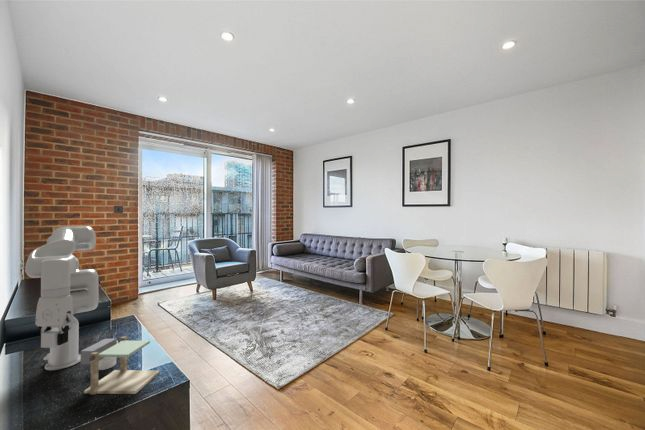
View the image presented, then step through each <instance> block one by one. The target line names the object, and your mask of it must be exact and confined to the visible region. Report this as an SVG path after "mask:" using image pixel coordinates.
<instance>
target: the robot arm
mask: <svg viewBox="0 0 645 430" xmlns="http://www.w3.org/2000/svg"><path fill="white" fill-rule="evenodd" d="M96 237H97V236H96V232H95V230H94V229H93V227H92V226H87V225H85V226H84V225H83V226H82V225H78V226H77V225H76V226H74V225H73V226H69V225H68V226H60V227H57V228H56V229H54V230H53V231H52V233H51V235H50V236H49V237H47V239H46V244H43V245H41V246H38V247H37V248H35V249H34V250H32V251H31V252H30V253H29V255H28V258H27V260H26V263H25V267H24V271H25V274H26V276H28V277H30V278H32V279H36V278H37V279H39V278H40V297H39V298H38V301H37V305H36V311H35V323H34V324H35V326H37V327H38V329H39V330H40V334H41V333H43V332H46V331H49V330H51V329H54V328H58V330H59V333H60V334H58V341H57V345H60V346H57V347H55V348H49V353H47V354H46V356H44V357H43V361H47V363H46V364H44V370H46V371H58V370H63V369H65V368H69V367H72V366H74V365H76V364H78V363H81V353H79V345H80V344H79V342H80V341H79V339H80V338H79V336H80V335H79V333H80V332H79V329H80V326H79V325H80V323H79V320H78V319H77V318H76V317H75V316H74V315H75V314H80V313H85V312H90V311H93V310H96V309H97V308H98V307H99V299H100V298H99V297H100V293H99V290H100V289H99V288H100V287H99V286H100V285H99V275H98V271H97V270H96V269H93V268H87V269H85V268H84V269H80V268H79V267H80V261H79V258H77V257H76V256H75V255H74V254H73V253H74V252H75V251H76V252H77V251H78V252H80V251H91V250H93V249H95V246H96V244H97V239H96ZM79 290H80V291H79ZM81 290H85V291H81ZM71 291H78V292H71ZM68 331H69V342H68Z"/></svg>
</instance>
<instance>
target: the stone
mask: <svg viewBox="0 0 645 430" xmlns="http://www.w3.org/2000/svg"><path fill="white" fill-rule="evenodd" d="M58 334H60V333H59V330H58V328H54V329H51V330H49V331H46V332H43V333H41V332H40V348H41V349H42V348H45V349H47V348H49V349H50V348H55V347H57V346H60V345H57V341H58ZM68 342H69V331H68Z"/></svg>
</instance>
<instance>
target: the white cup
mask: <svg viewBox="0 0 645 430" xmlns="http://www.w3.org/2000/svg"><path fill="white" fill-rule="evenodd" d="M117 343H119V341H118V340H117ZM117 358H118V357H105V358H103V359H101V360H100V361H99V371H104V370H108V369H110V368H114V367H115V366H116V365H117Z"/></svg>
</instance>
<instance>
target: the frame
mask: <svg viewBox="0 0 645 430" xmlns="http://www.w3.org/2000/svg"><path fill="white" fill-rule="evenodd" d="M121 341H129V338H128V336H121V337H120V342H121ZM119 358H120V359H119V360H120V364H119V366H120V369H114V370H113V371H112V372H109V373H108V374H107V375H106V376H104V377H102V378H101V379H99V372H100V370H99V352H93V353H91V357H90V358H89V360H90V361H91V364H90V383H89V384H90V386H89V387H88V388H86V389H85V390H83V392H84V393H83V394H89V395H97V394H108V395H109V394H110V395H113V394H114V395H116V394H119V395H136V394H138V392H140V391H141V390H142V389H143V388H144V387H145V386H146V385H148V384H149V383H150V382H151V381H153V379H155V378H156V377H157V376H158V375H159V374H160V373H161V370H160V369H159V370H157V369H156V370H151V369H149V370H147V369H143V370H139V369H138V370H137V369H136V370H135V369H133V370H132V369H128V357H119Z"/></svg>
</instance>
